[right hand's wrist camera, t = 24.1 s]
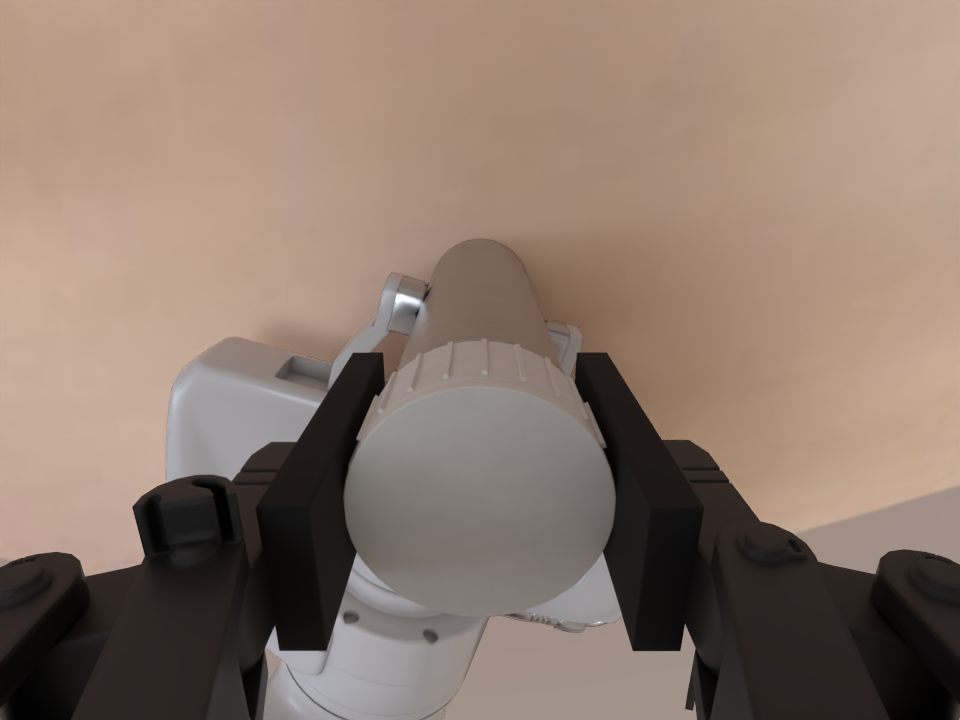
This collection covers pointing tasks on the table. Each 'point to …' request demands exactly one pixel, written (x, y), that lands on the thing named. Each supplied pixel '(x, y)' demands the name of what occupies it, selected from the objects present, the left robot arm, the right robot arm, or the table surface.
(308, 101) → the table surface
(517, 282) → the jar
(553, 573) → the lid
